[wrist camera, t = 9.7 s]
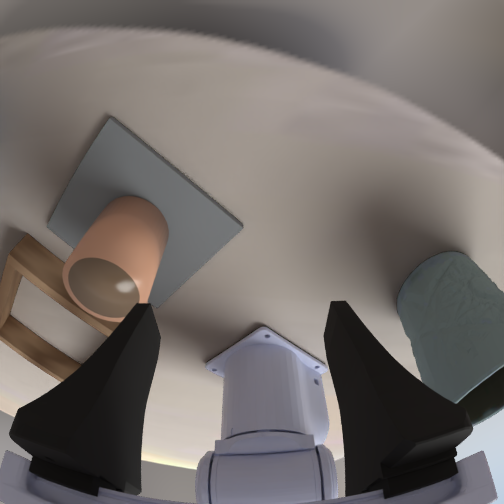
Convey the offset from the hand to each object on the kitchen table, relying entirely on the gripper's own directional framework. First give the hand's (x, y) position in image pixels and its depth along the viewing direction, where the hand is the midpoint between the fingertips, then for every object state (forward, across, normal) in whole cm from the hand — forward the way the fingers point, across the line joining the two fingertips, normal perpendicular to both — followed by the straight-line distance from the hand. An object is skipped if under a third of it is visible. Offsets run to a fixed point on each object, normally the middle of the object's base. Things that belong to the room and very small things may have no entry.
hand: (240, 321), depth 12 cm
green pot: (+10, -17, +7) cm, 21 cm away
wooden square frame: (+9, +18, +11) cm, 23 cm away
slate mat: (+9, +7, 0) cm, 12 cm away
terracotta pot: (+9, +7, 0) cm, 12 cm away
